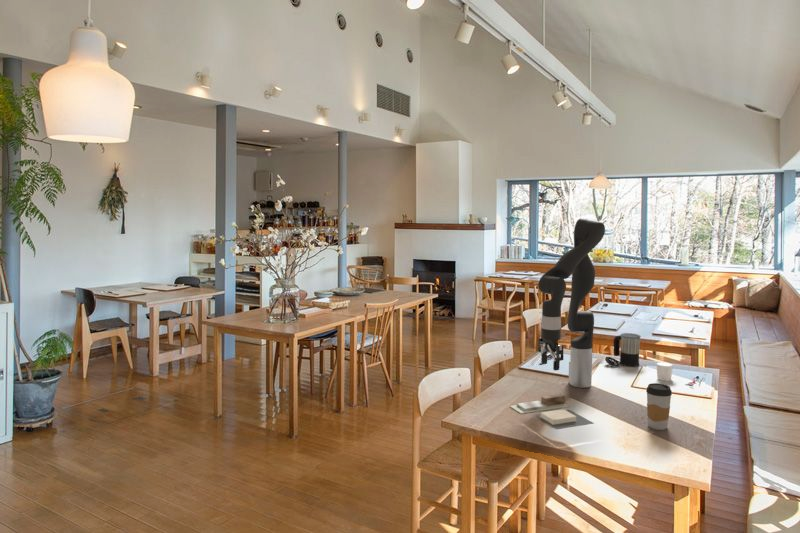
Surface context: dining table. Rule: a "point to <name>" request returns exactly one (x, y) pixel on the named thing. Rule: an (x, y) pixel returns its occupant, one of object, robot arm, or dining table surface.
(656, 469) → the dining table surface
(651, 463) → the dining table surface
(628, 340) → the milk frother
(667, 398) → the coffee cup
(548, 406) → the board
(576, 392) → the dining table surface
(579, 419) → the mat
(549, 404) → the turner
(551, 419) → the tile
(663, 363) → the white cup
